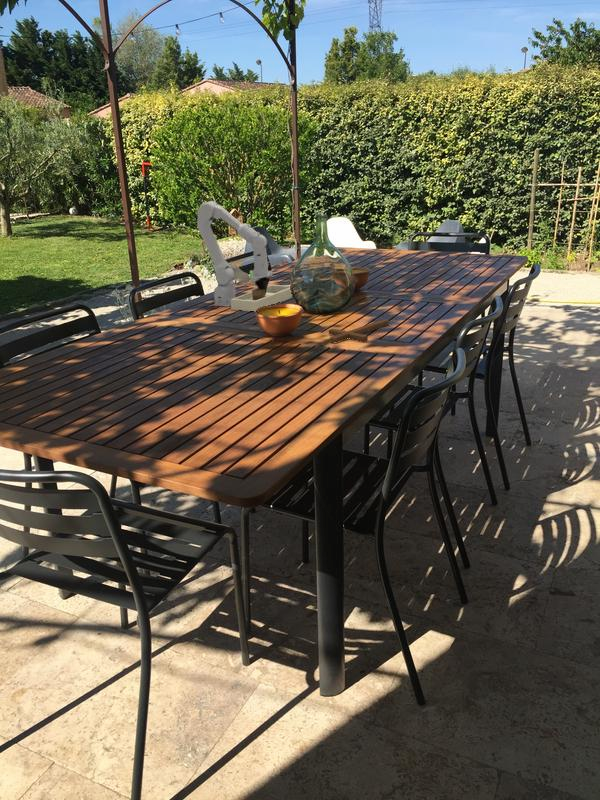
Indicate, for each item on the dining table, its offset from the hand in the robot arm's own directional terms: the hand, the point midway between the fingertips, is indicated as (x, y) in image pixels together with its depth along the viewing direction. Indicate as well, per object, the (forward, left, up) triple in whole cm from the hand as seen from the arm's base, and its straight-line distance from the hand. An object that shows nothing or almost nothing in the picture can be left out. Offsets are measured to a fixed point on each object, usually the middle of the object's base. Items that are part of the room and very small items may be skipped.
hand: (263, 295), depth 282 cm
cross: (-30, -61, -4) cm, 68 cm away
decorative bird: (+34, +30, -4) cm, 45 cm away
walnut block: (-3, 0, -1) cm, 3 cm away
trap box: (+1, 0, -3) cm, 4 cm away
